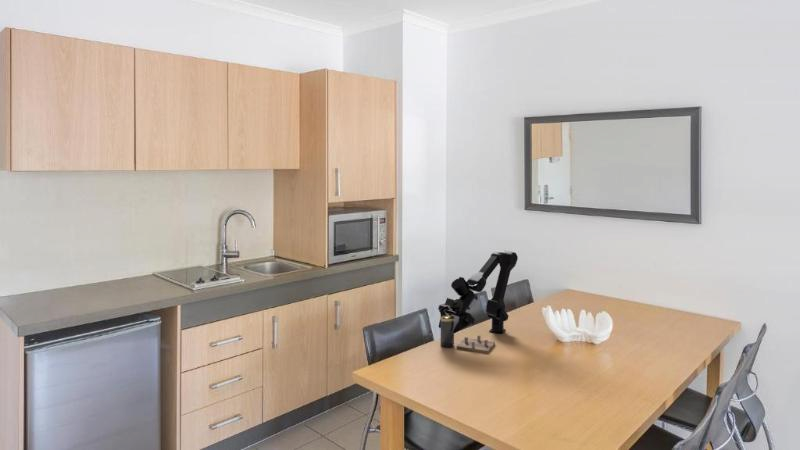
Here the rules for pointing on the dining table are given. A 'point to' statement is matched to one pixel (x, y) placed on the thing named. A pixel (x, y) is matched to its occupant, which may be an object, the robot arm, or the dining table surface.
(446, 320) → the tea tin
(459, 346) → the peg board
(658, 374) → the dining table surface
